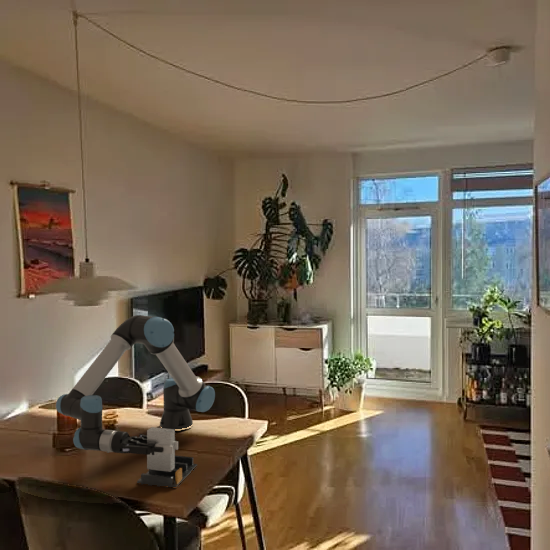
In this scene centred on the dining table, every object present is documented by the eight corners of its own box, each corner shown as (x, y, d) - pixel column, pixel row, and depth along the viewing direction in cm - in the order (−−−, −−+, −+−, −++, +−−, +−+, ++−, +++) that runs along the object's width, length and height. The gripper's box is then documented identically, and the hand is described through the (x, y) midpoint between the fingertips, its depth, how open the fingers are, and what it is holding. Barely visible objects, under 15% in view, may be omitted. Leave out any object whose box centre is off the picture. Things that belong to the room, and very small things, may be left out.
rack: (160, 462, 205) (160, 450, 204) (196, 466, 201) (197, 453, 201) (137, 483, 186) (137, 469, 186) (176, 488, 183) (176, 474, 182)
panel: (151, 465, 190) (151, 427, 190) (174, 467, 188) (174, 429, 188) (147, 469, 187) (147, 430, 186) (170, 471, 185) (170, 432, 184)
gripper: (126, 443, 199) (184, 449, 194) (103, 460, 183) (165, 467, 178) (126, 424, 199) (184, 429, 194) (102, 439, 183) (165, 445, 178)
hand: (175, 447), depth 186 cm, fingers closed on panel, 3 cm apart
